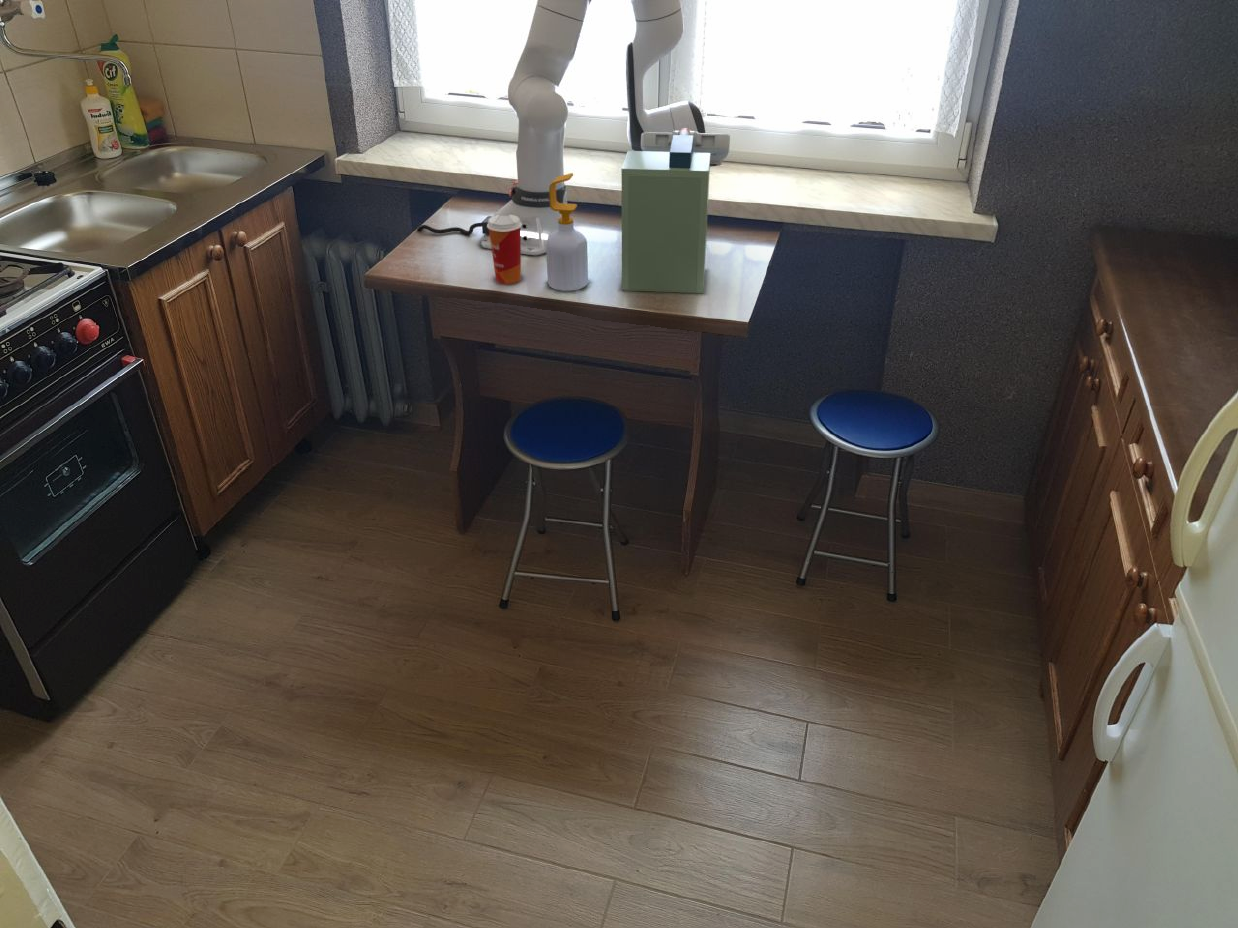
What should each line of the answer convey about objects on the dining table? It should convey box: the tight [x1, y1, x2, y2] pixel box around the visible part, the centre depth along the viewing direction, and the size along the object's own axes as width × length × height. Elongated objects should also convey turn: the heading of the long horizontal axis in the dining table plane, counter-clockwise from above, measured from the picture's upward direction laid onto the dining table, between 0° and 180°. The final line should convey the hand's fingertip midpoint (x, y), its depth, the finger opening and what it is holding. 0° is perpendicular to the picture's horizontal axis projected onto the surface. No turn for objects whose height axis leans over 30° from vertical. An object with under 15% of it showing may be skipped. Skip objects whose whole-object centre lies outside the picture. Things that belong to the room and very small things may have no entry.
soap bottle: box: [545, 172, 589, 292], centre depth 209 cm, size 9×9×25 cm
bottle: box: [669, 128, 694, 168], centre depth 205 cm, size 20×4×3 cm, turn 174°
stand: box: [621, 150, 711, 294], centre depth 209 cm, size 13×18×27 cm
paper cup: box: [487, 215, 522, 285], centre depth 214 cm, size 8×8×14 cm
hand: (684, 134), depth 211 cm, fingers closed on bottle, 2 cm apart
